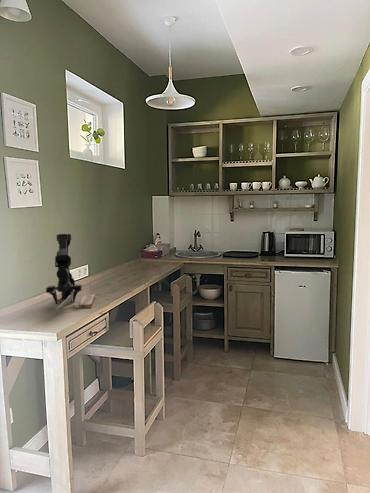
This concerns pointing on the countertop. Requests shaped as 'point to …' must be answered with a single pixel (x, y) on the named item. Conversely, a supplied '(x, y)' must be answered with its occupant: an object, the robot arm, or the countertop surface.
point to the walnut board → (87, 301)
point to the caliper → (69, 298)
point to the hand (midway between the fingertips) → (65, 303)
